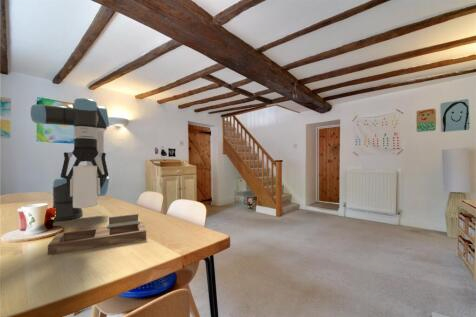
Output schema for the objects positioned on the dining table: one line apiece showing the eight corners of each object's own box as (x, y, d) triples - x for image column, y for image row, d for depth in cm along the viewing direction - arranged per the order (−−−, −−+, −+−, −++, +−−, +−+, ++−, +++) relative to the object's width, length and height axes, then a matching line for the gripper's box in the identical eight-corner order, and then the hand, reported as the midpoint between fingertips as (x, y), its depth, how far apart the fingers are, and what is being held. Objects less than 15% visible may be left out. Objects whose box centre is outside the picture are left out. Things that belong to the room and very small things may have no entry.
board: (64, 232, 100) (64, 224, 100) (140, 222, 115) (140, 215, 115) (47, 255, 76) (47, 245, 76) (146, 239, 92) (146, 230, 92)
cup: (102, 203, 91) (102, 165, 91) (86, 208, 83) (86, 166, 83) (84, 203, 92) (84, 165, 92) (67, 207, 84) (67, 166, 84)
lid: (108, 220, 106) (108, 212, 106) (137, 216, 113) (137, 209, 113) (107, 227, 95) (107, 218, 95) (139, 223, 101) (139, 215, 101)
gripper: (49, 136, 79) (49, 198, 79) (115, 138, 89) (115, 194, 89) (54, 137, 85) (54, 195, 86) (116, 140, 95) (116, 191, 95)
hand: (85, 194), depth 87 cm, fingers closed on cup, 8 cm apart
